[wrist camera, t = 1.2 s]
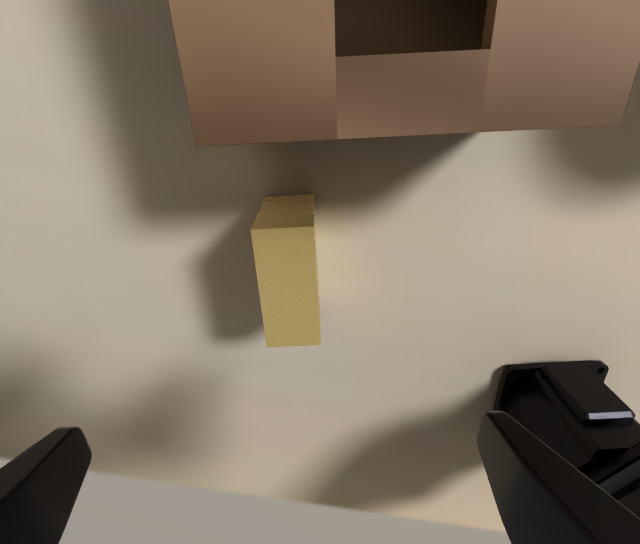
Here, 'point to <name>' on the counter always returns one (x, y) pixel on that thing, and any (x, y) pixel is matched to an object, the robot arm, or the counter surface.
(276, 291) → the block
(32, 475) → the robot arm
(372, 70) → the coin box
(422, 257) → the counter surface
